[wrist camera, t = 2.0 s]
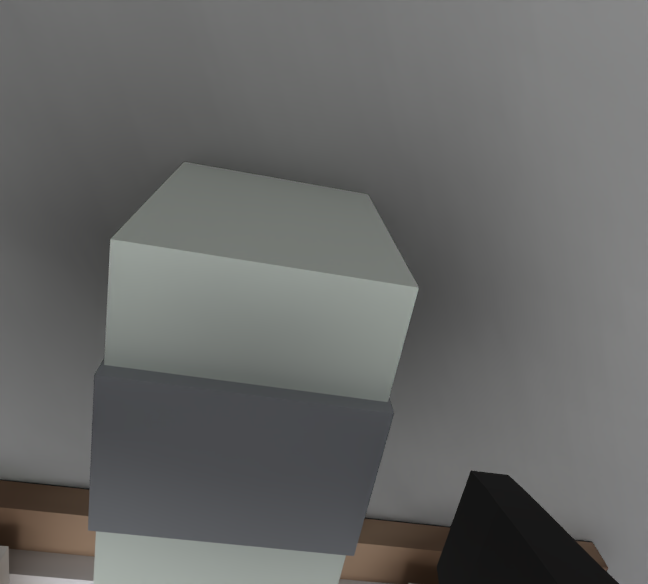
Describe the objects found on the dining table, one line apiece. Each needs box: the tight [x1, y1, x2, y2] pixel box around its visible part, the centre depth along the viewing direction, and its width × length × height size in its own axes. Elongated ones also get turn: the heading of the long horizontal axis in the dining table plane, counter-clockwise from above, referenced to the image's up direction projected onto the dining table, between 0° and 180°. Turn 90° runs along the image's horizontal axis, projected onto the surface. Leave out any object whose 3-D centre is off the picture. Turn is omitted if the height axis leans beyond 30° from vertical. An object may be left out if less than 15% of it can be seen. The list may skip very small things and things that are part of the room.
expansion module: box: [88, 162, 419, 584], centre depth 12 cm, size 4×7×6 cm, turn 169°
